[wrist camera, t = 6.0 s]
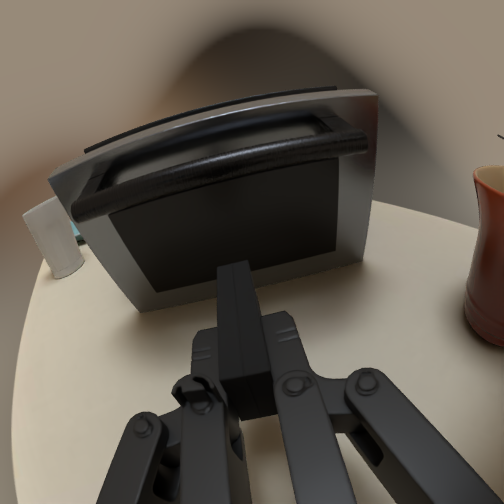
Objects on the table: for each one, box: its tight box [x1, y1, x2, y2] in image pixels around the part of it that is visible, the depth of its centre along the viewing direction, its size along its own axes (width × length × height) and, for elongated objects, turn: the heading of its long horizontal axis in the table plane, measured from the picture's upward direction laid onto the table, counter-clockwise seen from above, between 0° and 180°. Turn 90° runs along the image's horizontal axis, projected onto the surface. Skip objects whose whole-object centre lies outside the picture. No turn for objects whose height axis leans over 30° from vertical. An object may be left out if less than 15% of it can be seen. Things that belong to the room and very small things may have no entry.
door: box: [48, 89, 379, 313], centre depth 19 cm, size 5×22×16 cm, turn 96°
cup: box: [23, 196, 84, 279], centre depth 37 cm, size 8×8×12 cm
